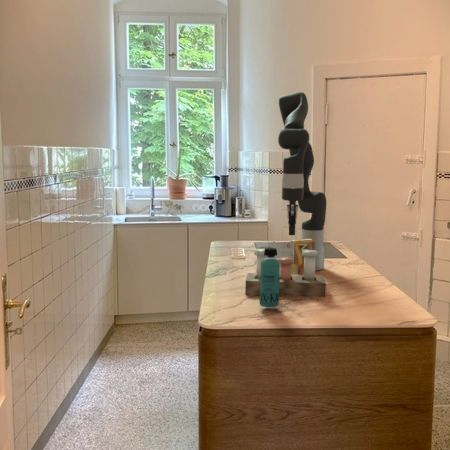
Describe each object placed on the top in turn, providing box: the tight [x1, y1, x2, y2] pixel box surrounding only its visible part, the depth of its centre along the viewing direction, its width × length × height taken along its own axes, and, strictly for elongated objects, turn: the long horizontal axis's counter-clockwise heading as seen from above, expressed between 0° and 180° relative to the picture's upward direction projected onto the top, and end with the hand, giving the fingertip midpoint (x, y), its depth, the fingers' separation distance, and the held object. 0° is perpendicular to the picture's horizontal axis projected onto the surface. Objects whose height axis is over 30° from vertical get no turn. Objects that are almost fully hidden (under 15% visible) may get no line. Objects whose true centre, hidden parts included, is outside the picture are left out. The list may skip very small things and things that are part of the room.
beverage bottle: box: [258, 247, 280, 308], centre depth 171 cm, size 6×7×20 cm
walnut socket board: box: [244, 272, 327, 298], centre depth 193 cm, size 28×12×5 cm, turn 84°
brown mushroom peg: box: [277, 256, 294, 280], centre depth 193 cm, size 6×6×10 cm
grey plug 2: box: [302, 250, 318, 281], centre depth 191 cm, size 6×6×10 cm
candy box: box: [289, 238, 314, 275], centre depth 214 cm, size 9×4×15 cm, turn 110°
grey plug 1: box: [254, 248, 268, 279], centre depth 193 cm, size 6×6×10 cm
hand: (291, 234), depth 191 cm, fingers closed
